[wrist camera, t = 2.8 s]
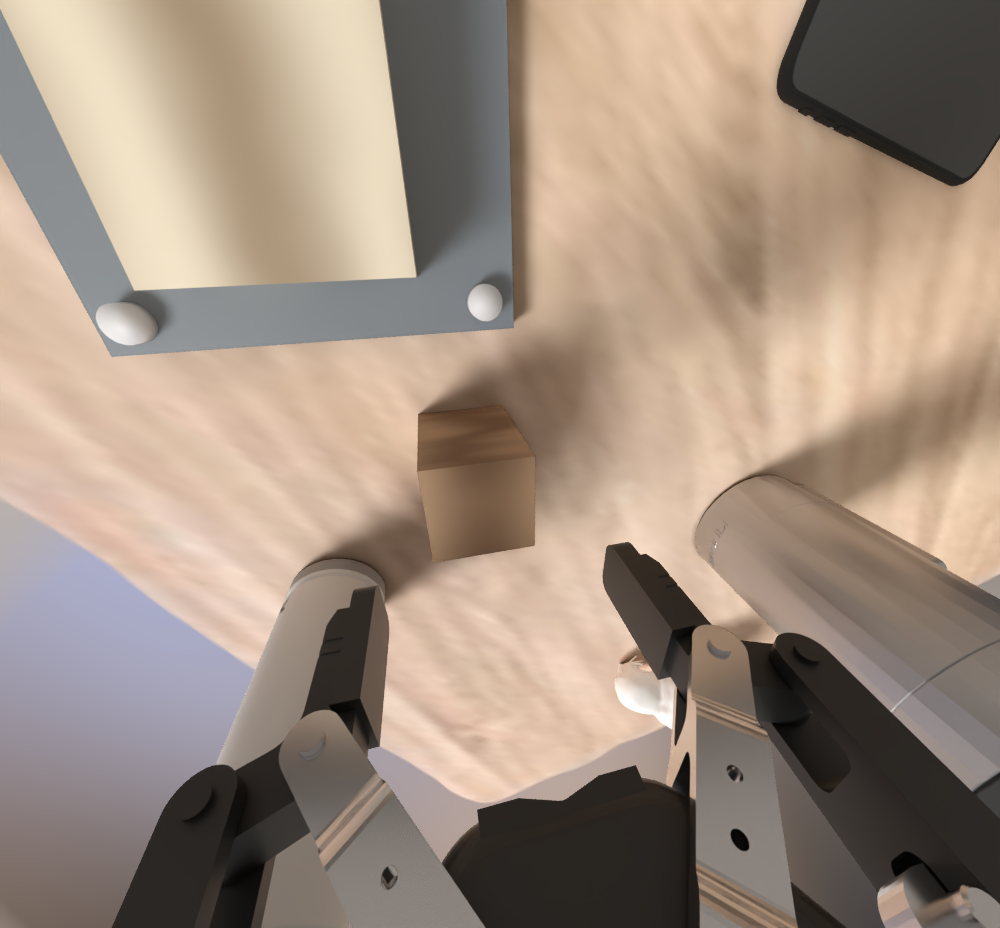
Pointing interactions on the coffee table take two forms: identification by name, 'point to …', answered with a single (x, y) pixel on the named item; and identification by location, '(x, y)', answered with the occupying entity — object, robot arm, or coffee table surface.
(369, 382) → the coffee table surface
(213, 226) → the birch plinth
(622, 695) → the white lumpy piece
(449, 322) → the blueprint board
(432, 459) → the walnut block
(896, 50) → the smartphone
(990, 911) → the robot arm
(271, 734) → the travel mug
